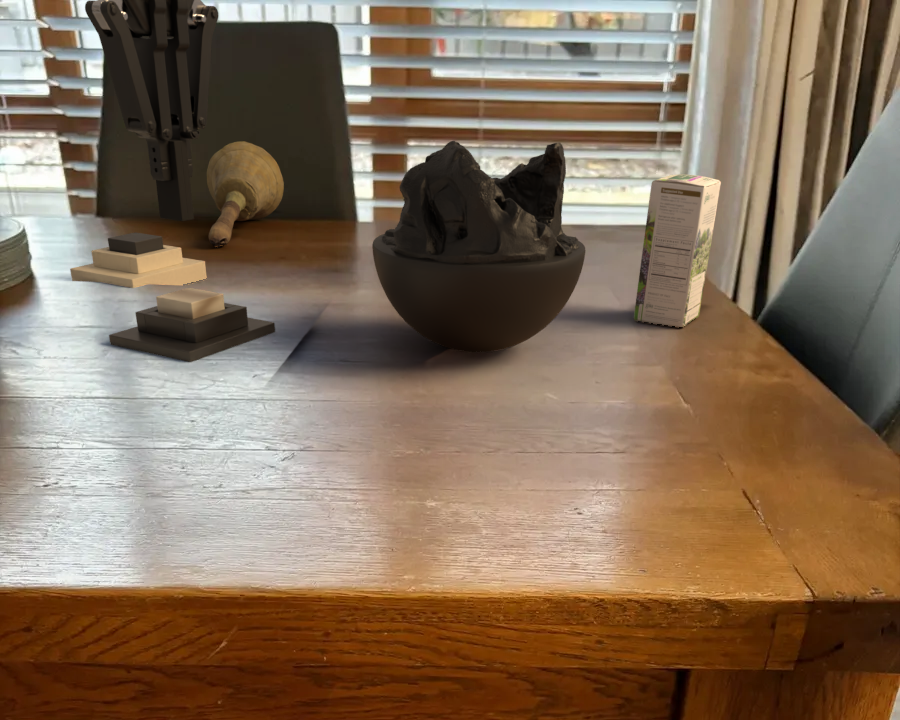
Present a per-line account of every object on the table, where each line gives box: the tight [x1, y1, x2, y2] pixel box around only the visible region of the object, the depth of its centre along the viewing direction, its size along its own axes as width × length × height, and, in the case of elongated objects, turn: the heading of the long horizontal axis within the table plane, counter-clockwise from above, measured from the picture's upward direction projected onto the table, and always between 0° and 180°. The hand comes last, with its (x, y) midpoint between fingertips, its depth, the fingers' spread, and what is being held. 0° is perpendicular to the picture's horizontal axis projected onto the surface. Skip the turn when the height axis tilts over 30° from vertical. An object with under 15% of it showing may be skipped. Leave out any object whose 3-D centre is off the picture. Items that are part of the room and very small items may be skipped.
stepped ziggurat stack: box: [69, 244, 208, 289], centre depth 117 cm, size 12×10×4 cm
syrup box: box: [633, 173, 722, 328], centre depth 104 cm, size 6×6×14 cm
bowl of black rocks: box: [371, 140, 586, 353], centre depth 92 cm, size 20×20×19 cm
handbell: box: [206, 140, 285, 247], centre depth 143 cm, size 12×12×25 cm
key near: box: [155, 287, 225, 319], centre depth 92 cm, size 4×4×2 cm
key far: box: [107, 232, 164, 255], centre depth 115 cm, size 4×4×2 cm
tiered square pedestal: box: [108, 302, 276, 363], centre depth 93 cm, size 12×10×4 cm
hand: (176, 218), depth 89 cm, fingers closed
